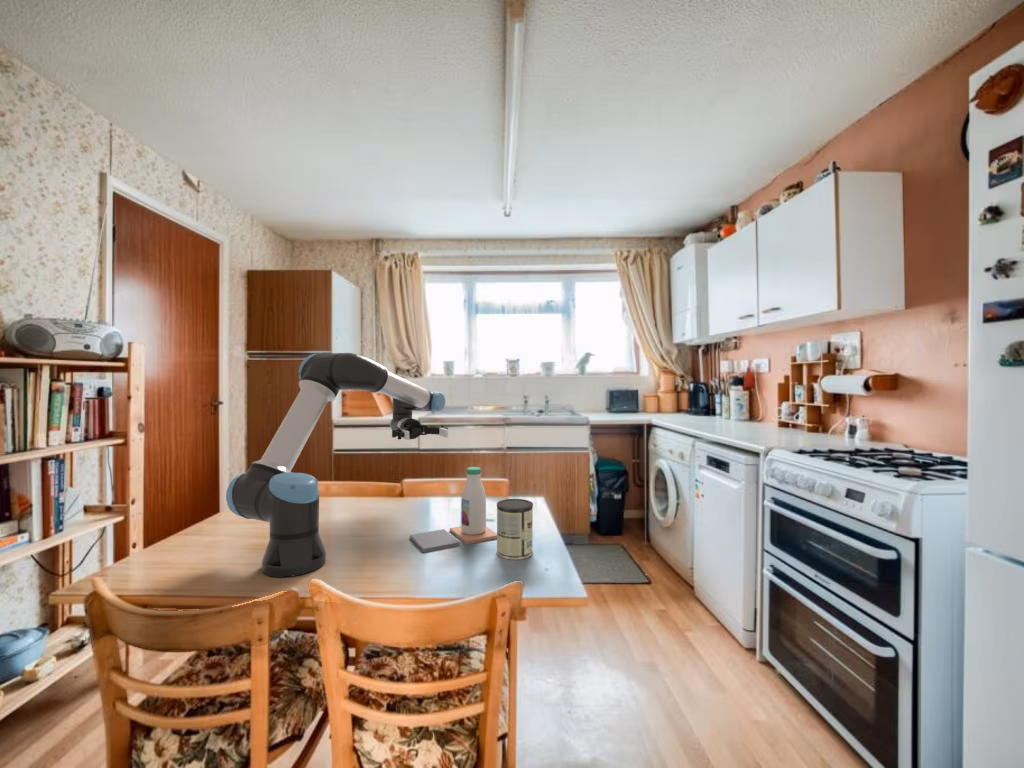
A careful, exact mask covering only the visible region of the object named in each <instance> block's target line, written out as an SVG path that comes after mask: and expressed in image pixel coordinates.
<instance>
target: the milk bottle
mask: <svg viewBox="0 0 1024 768" xmlns="http://www.w3.org/2000/svg"><path fill="white" fill-rule="evenodd" d="M465 471H466V474H465V475H466V480H465V483H464V486H463V488H462V491H461V501H460V502H461V504H460V505H461V507H460V508H461V512H460V514H461V517H460V519H461V521H460V522H461V523H460V526H461V530H462V532H463V533H465V534H468V535H477V534H482V533H484V532H485V530H486V527H487V498H486V497H487V495H486V491H485V487H484V485H483V483H482V480H481V479H482V478H481V476H482V475H481V473H482V469H481V467H478V466H470V467H467V468H466V470H465Z"/></svg>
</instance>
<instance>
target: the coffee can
mask: <svg viewBox="0 0 1024 768" xmlns="http://www.w3.org/2000/svg"><path fill="white" fill-rule="evenodd" d="M533 508H534V502H532V501H530V500H528V499H523V498H509V499H508V498H505V499H503V500H499V501H497V503H496V533H497V539H496V540H497V541H496V555H497V556H499V557H500V558H501V559H504V560H505V559H506V560H512V561H513V560H514V561H515V560H516V561H517V560H525V559H528V558H529V557H531V556H532V555H533V554H534V553H533V539H534V538H533V533H534V532H533V524H534V523H533V522H534V521H533V518H534V516H533V515H534V514H533Z"/></svg>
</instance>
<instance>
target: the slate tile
mask: <svg viewBox="0 0 1024 768" xmlns="http://www.w3.org/2000/svg"><path fill="white" fill-rule="evenodd" d="M409 539H410V540H411V539H412V540H413V541H414V542H415V543H416V544H417V545H416V544H415V543H414V544H415V545H416V547H418V548H419V550H421V551H422V552H423V553H427V552H432V551H438V550H443V549H448V548H453V547H459V546H460V544H461V543H460V541H459V540H458V539H456V538H455V537H454V536H453V535H452V534H451V533H450V532H448V531H447V530H446V529H444V528H442V529H436V530H431V531H424V532H418V533H413V534H409ZM412 540H411V541H412ZM413 541H412V542H413Z"/></svg>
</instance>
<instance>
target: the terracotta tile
mask: <svg viewBox="0 0 1024 768" xmlns="http://www.w3.org/2000/svg"><path fill="white" fill-rule="evenodd" d="M449 533H450V534H453V535H454V536H455V537H456V538H457V539H459V540H460V541H461V542H462V543H464V544H465V545H469V544H476V543H481V542H485V541H490V540H497V532H495V531H494V530H492V529H491V528H489V527H487V526H486V530H485V532H484V533H482V534H477V535H468V534H465V533H463V532H462V530H461V525H460V526H454V527H449Z"/></svg>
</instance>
